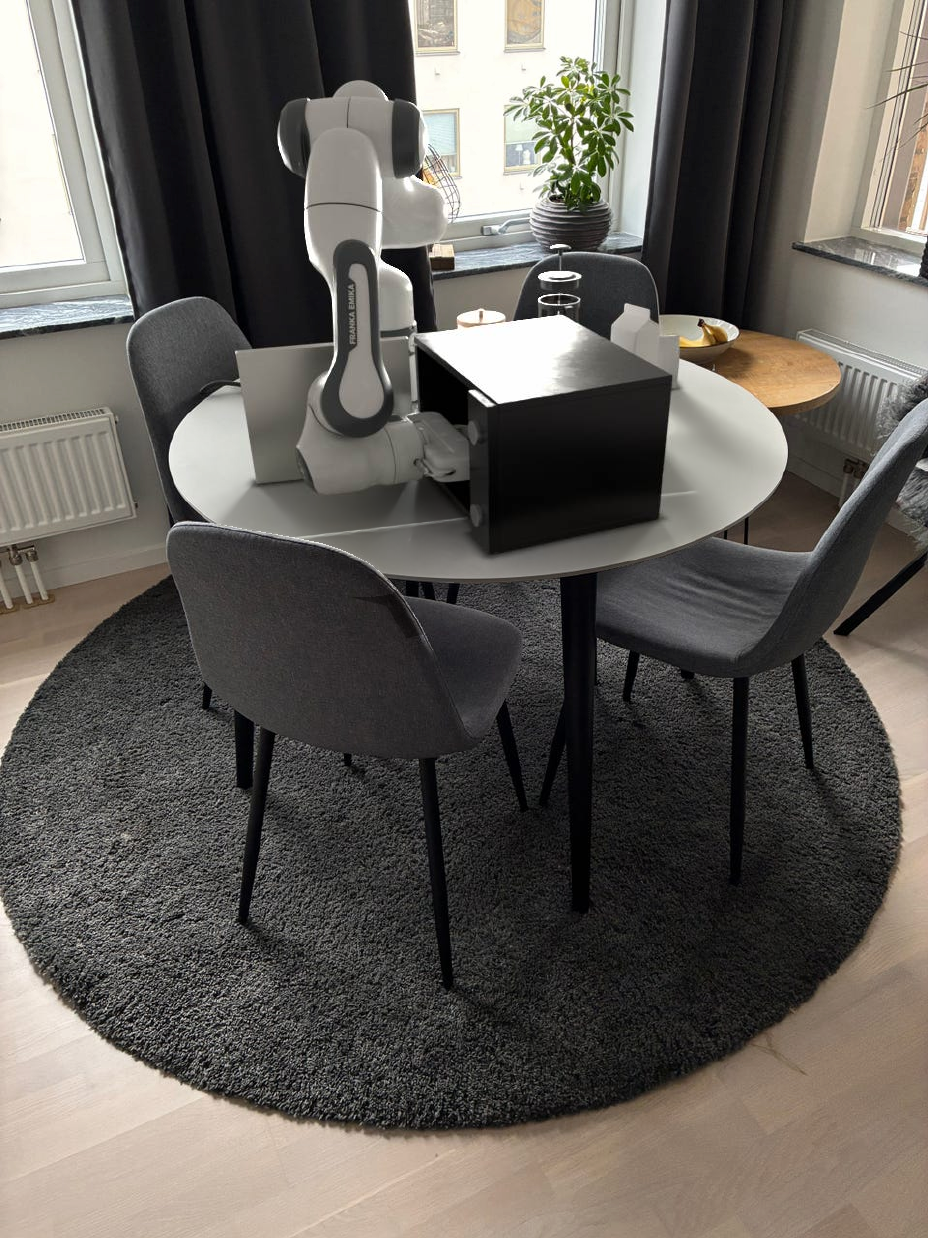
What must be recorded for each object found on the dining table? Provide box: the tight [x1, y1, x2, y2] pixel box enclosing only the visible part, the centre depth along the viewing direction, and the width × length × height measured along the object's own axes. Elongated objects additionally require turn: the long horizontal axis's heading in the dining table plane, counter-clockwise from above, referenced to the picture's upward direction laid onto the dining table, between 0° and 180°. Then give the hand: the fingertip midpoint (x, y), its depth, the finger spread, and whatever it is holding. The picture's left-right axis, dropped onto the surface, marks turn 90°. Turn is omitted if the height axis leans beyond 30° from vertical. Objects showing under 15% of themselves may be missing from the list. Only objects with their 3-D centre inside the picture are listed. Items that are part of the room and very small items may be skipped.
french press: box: [537, 244, 582, 324], centre depth 201 cm, size 12×9×23 cm
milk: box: [610, 302, 662, 366], centre depth 164 cm, size 6×6×22 cm
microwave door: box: [235, 336, 414, 485], centre depth 153 cm, size 7×27×22 cm, turn 101°
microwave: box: [414, 314, 673, 555], centre depth 143 cm, size 28×34×22 cm
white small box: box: [657, 334, 681, 389], centre depth 187 cm, size 4×7×10 cm, turn 91°
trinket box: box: [456, 308, 506, 330], centre depth 209 cm, size 11×11×9 cm
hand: (489, 437), depth 146 cm, fingers closed on bottle, 5 cm apart
